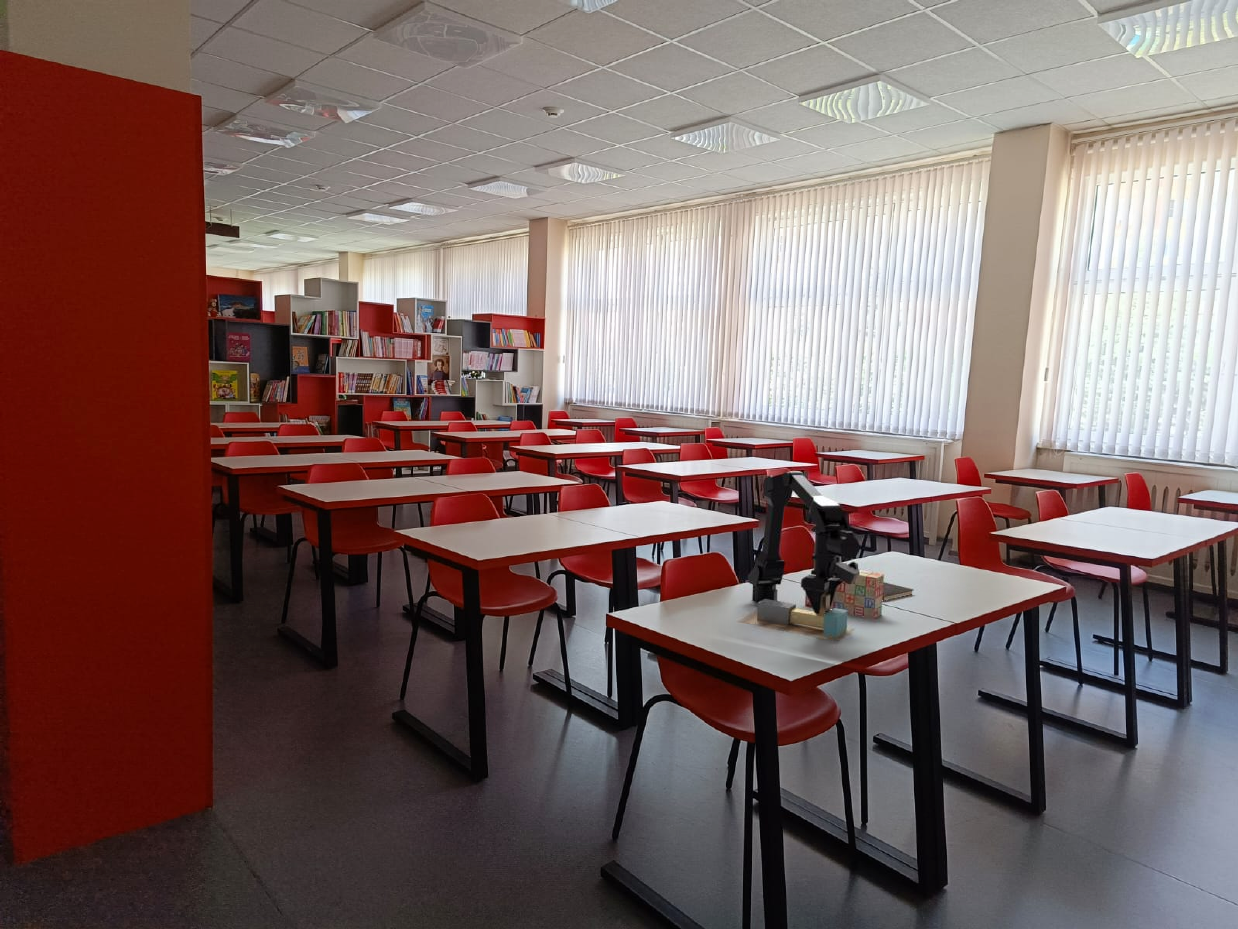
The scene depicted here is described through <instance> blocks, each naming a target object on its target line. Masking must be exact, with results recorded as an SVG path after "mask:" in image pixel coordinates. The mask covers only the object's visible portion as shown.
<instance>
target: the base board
mask: <svg viewBox="0 0 1238 929" xmlns="http://www.w3.org/2000/svg"><path fill="white" fill-rule="evenodd" d="M737 622H740V623H744V624H749V625H750V624H751V625H755V626H760V627H764V628H768V629H769V628H770V629H775V630H778V631H779V630H780V631H785V632H790V633H794V634H800V635H803V636H809V637H815V638H819V639H824V640H831V641H835V642H840V641H841V640H842V639H844V638H845V637H846V636H848V635H849V634H850V633H852V632H853V631H854V630H855V628H851V627H847V631H845V632H844V633H843V634H841V635H840V636H838V637H837V638H835V637H830V636H825V635H823V632H824V629H821V628H816V627H811V626H806V625H800V624H795V623H793V624H791V625H790V626H783V625H778V624H773V623H768V622H763V621H758V620H757V610H756V611H754V612H752V613H750V614H748V615H746V616H744V617H743V618H740V619H738V620H737Z"/></svg>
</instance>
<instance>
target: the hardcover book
mask: <svg viewBox="0 0 1238 929" xmlns="http://www.w3.org/2000/svg"><path fill="white" fill-rule="evenodd" d="M913 591H915V589H913V588H909V587H905V586H900V585H896V584H893V583H888V582H884V581H883V598H882V600H883V601H882V602H885V601H884V600H886V599H891V600H893V599H892V598H895V599H897V598H896V597H900V596H904V597H907V596H906V595H909V594H912V595H913ZM909 596H910V595H909ZM900 598H901V597H900ZM886 601H887V600H886Z"/></svg>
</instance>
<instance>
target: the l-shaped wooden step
mask: <svg viewBox="0 0 1238 929" xmlns="http://www.w3.org/2000/svg"><path fill="white" fill-rule="evenodd" d="M829 611H831V610H830V594H824V595H823V598H822V603H821V608H820V612H819V614H815V613H814V610H813V611H811V610H807V609H801V608H797V607H796V608H792V609H790V614H789V622H790V623H795V624H800V625H806V626H811V627H816V628H821V629H824V615H825V614H826V613H828V612H829Z"/></svg>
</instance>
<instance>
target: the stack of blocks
mask: <svg viewBox="0 0 1238 929" xmlns="http://www.w3.org/2000/svg"><path fill="white" fill-rule="evenodd" d="M859 570H860V571H859V573H860V574H859V575H858V576H857V578H856V581H855V582H853V583H852V584H847V583H845V581H844V582H843V583H841V584H840V585H839V586H838V587H837V590H836V593H835V596H834V599H833V602H832V605H831V606H830V609H834V608H837V609H842V610H848V613H849V614H848V615H851V614H853V615H852V616H856V615H857V616H856V617H861V616H864V617H863V618H868V619H873V620H874V619H877V618H878V617H880V616H881V615H882V614H883V612H882V611H883V601H882V598H883V582H884V581H885V580H884V579H885V574H884V573H883V574H882V573H877V572H873V571H871V570H863V569H862V570H861V569H859ZM808 575H812V574H811V573H810V574H807V575H806V576H808ZM815 576H816V575H815ZM804 599H805V600H804V605H805V606H807V605H809V607H812V605H811V603H810V601H809V598H808V596H807V594H806V592H805V597H804ZM876 617H877V618H876Z"/></svg>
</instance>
